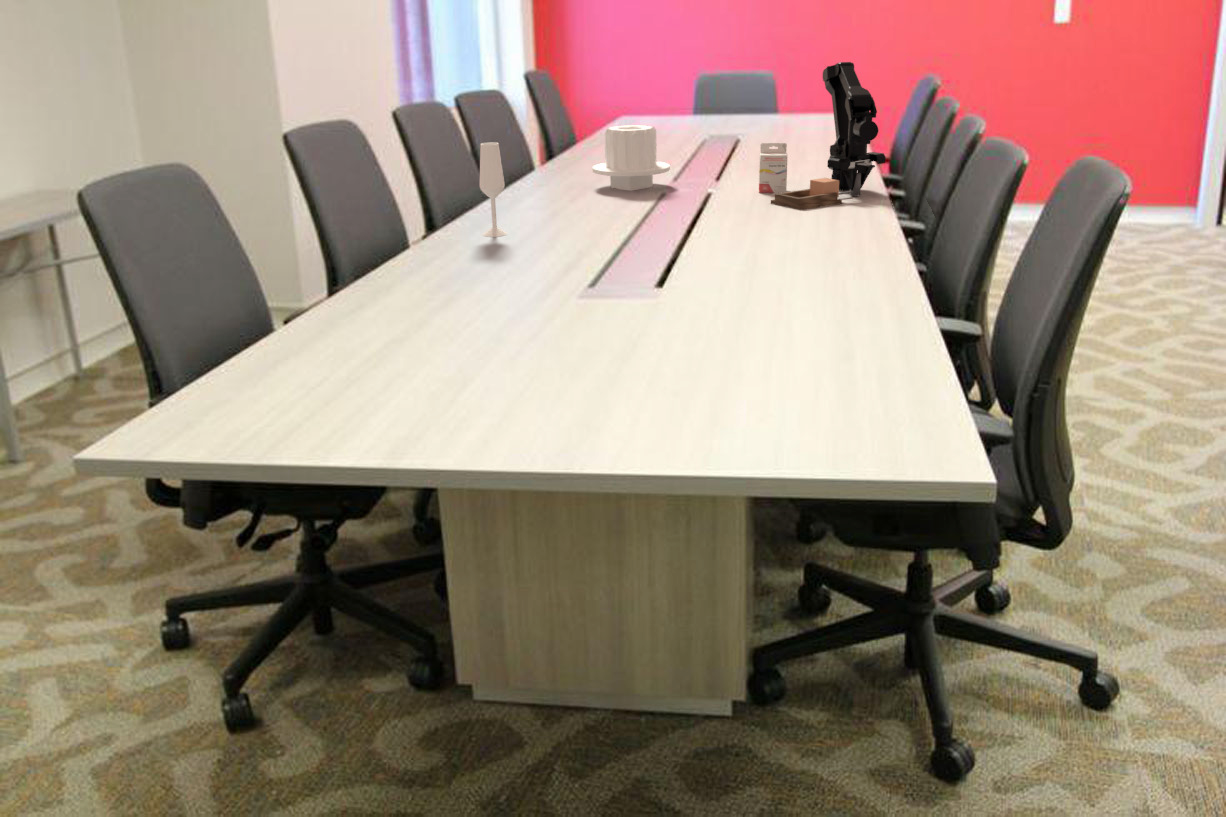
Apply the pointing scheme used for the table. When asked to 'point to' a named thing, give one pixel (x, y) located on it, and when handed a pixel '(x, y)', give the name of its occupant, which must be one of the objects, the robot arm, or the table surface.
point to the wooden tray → (805, 199)
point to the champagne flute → (491, 180)
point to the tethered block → (833, 186)
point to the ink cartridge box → (773, 168)
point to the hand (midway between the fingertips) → (855, 189)
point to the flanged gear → (631, 157)
